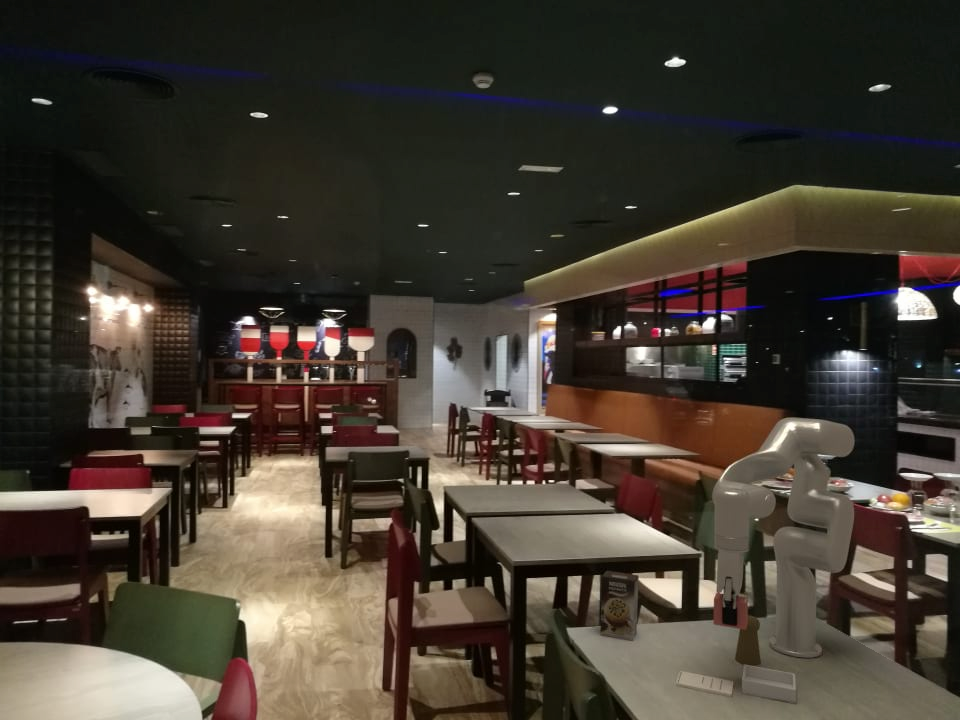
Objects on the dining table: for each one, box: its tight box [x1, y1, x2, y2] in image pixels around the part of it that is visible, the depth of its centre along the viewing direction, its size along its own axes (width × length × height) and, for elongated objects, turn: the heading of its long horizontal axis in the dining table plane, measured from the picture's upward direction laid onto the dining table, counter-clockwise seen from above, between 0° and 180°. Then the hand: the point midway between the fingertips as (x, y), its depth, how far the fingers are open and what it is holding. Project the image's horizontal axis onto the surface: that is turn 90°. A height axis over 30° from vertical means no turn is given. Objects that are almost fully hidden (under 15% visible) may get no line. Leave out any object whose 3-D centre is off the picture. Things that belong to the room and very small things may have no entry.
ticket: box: [675, 670, 734, 698], centre depth 157 cm, size 7×12×1 cm, turn 66°
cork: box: [734, 614, 762, 667], centre depth 171 cm, size 6×6×11 cm
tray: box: [741, 664, 797, 705], centre depth 156 cm, size 9×11×3 cm
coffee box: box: [600, 570, 640, 642], centre depth 187 cm, size 9×6×16 cm
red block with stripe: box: [713, 592, 749, 630], centre depth 158 cm, size 4×7×6 cm, turn 64°
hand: (730, 619), depth 158 cm, fingers closed on red block with stripe, 4 cm apart
